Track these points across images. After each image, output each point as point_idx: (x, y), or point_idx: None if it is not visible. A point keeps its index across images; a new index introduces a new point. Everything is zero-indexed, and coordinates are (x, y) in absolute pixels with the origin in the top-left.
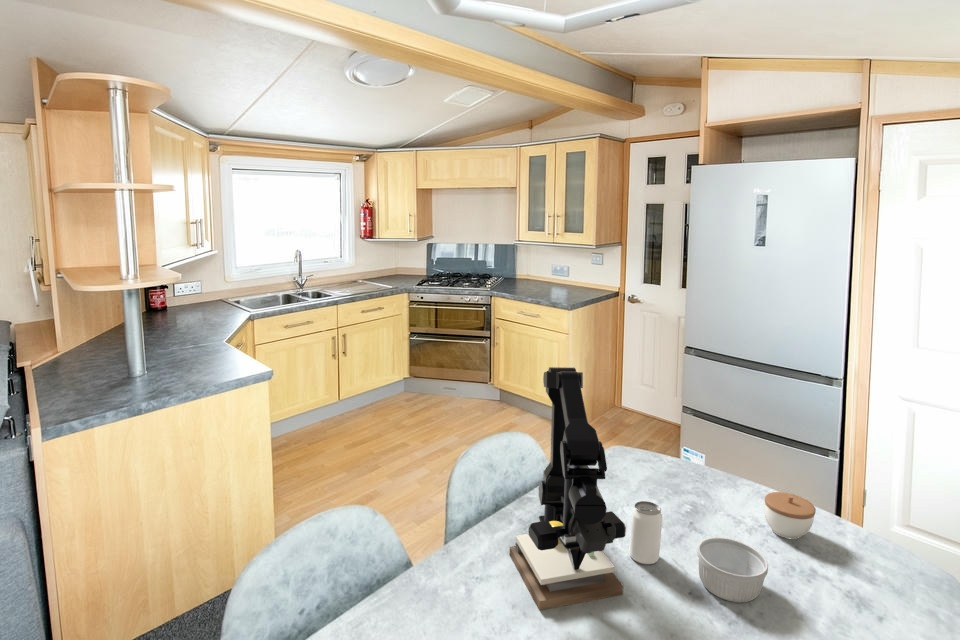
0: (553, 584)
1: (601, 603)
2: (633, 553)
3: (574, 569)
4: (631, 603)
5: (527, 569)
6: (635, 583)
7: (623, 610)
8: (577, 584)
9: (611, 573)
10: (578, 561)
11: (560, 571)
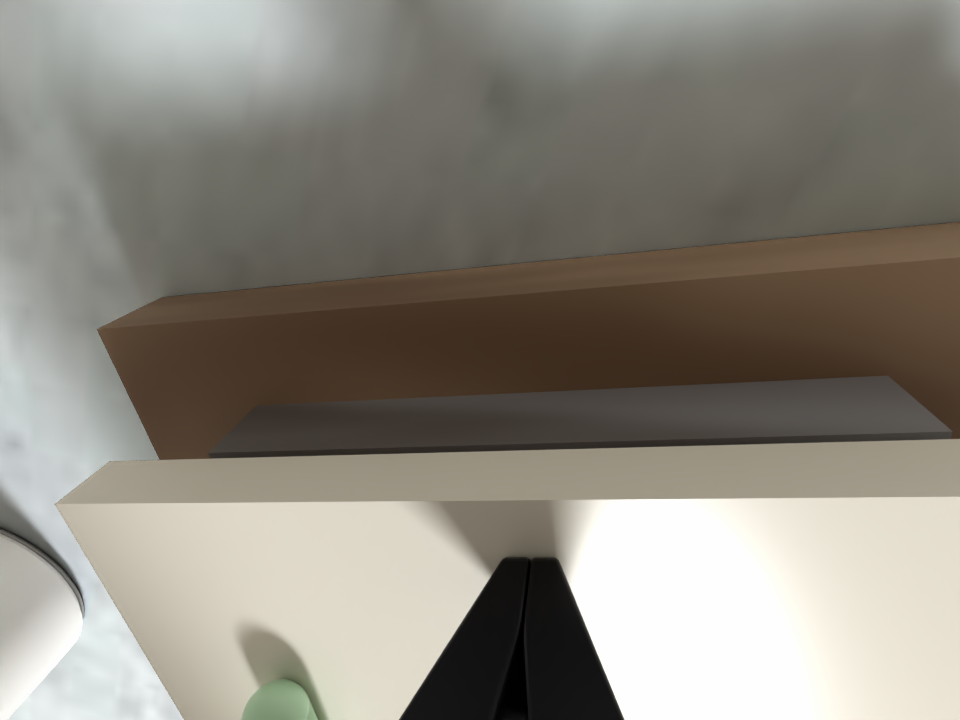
0: (894, 424)
1: (356, 220)
2: (24, 613)
3: (558, 564)
4: (99, 181)
5: None
6: (60, 390)
7: (175, 97)
8: (541, 405)
9: None
10: (506, 676)
11: (773, 574)
